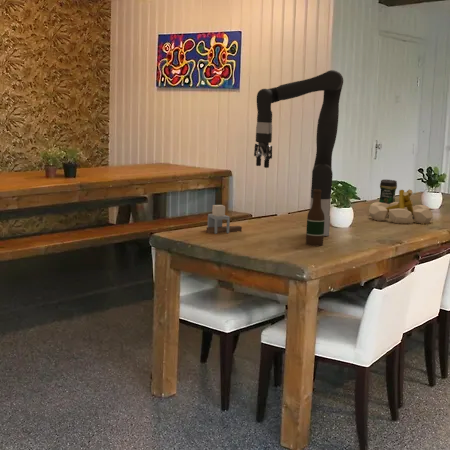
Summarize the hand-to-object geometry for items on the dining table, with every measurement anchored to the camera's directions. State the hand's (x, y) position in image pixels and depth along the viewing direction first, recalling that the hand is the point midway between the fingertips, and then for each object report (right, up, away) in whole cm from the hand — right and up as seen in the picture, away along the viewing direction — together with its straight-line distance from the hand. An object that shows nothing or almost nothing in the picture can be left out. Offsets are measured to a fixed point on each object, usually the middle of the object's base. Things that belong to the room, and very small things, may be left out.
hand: (262, 166), depth 322 cm
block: (-21, -23, -6) cm, 31 cm away
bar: (-18, -31, -4) cm, 36 cm away
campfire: (+78, -25, +53) cm, 98 cm away
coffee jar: (+78, -19, +82) cm, 115 cm away
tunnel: (-21, -31, -4) cm, 37 cm away
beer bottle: (+21, -36, -26) cm, 49 cm away
